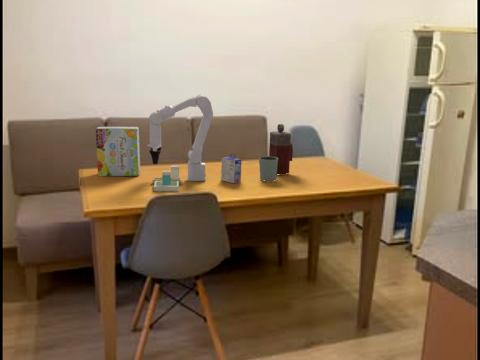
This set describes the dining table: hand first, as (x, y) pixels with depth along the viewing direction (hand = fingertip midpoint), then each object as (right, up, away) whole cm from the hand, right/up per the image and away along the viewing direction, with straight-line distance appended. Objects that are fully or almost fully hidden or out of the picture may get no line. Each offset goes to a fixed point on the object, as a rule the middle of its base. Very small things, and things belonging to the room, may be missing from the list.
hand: (155, 162), depth 257 cm
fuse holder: (+6, -11, -4) cm, 13 cm away
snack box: (-22, -6, +12) cm, 26 cm away
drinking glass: (+58, -9, +10) cm, 60 cm away
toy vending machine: (+66, -5, +27) cm, 72 cm away
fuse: (+10, -10, -4) cm, 15 cm away
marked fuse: (+8, -13, -14) cm, 20 cm away
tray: (+8, -13, -13) cm, 20 cm away
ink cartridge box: (+39, -10, +5) cm, 40 cm away
